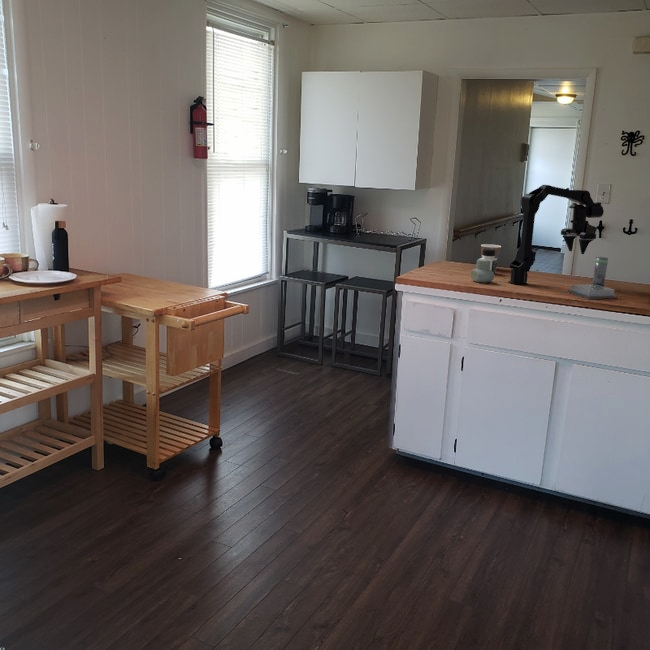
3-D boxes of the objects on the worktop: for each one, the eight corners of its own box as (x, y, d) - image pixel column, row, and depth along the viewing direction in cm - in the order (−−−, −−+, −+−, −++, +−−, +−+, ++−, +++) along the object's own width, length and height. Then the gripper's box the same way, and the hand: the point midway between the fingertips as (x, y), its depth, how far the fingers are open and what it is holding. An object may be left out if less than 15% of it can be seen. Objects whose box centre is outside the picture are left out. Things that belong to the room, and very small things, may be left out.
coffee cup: (501, 271, 339) (503, 247, 336) (480, 270, 339) (483, 246, 336) (496, 267, 349) (498, 244, 346) (476, 267, 349) (478, 243, 346)
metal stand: (588, 299, 275) (589, 290, 274) (567, 292, 288) (568, 284, 287) (617, 298, 279) (618, 290, 278) (595, 291, 292) (596, 283, 291)
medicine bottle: (491, 274, 325) (493, 250, 323) (477, 273, 329) (479, 248, 326) (496, 273, 331) (498, 248, 328) (482, 271, 335) (484, 247, 332)
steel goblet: (596, 290, 295) (600, 258, 291) (585, 287, 301) (590, 256, 298) (609, 290, 297) (614, 258, 293) (599, 287, 303) (603, 256, 300)
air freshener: (495, 283, 302) (498, 261, 299) (479, 284, 299) (481, 261, 297) (483, 279, 312) (485, 258, 309) (467, 279, 309) (469, 258, 307)
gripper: (608, 219, 297) (604, 254, 301) (582, 215, 315) (579, 249, 319) (586, 220, 294) (583, 256, 298) (561, 216, 312) (558, 250, 316)
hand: (576, 252), depth 308 cm, fingers open, 9 cm apart
